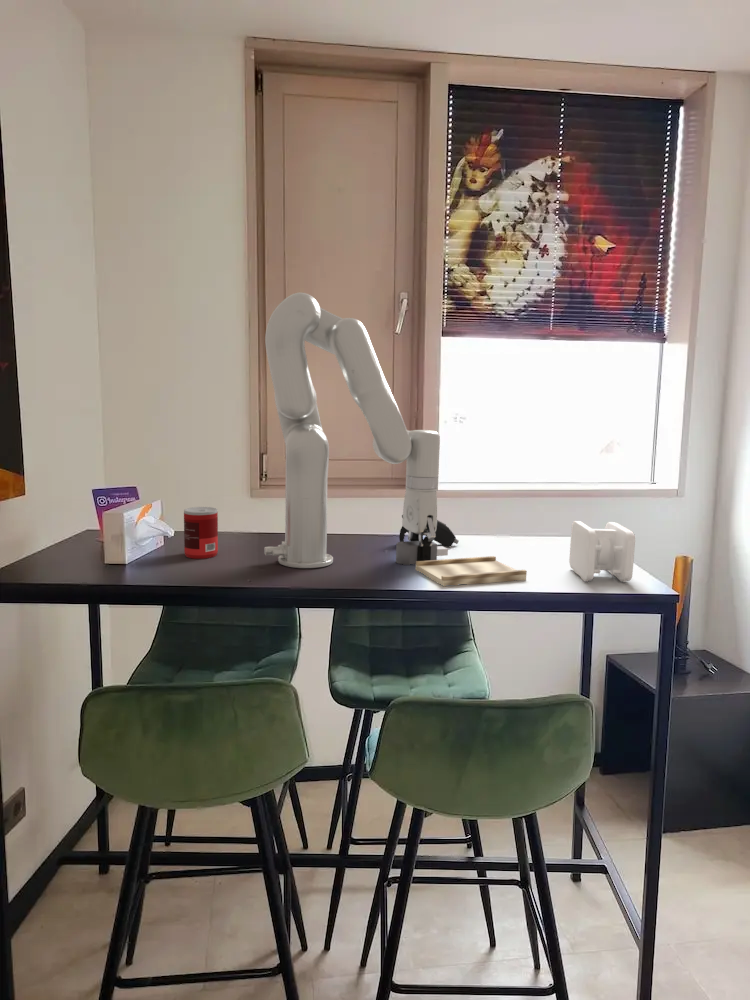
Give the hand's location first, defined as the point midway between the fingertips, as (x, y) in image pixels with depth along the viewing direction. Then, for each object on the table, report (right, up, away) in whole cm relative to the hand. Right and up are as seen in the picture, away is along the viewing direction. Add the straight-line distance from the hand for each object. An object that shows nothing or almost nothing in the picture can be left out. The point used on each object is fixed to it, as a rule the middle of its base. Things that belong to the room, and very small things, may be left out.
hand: (419, 559), depth 168 cm
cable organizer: (+40, -3, -9) cm, 41 cm away
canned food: (-52, +1, +1) cm, 52 cm away
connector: (0, -1, 0) cm, 1 cm away
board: (+11, -3, -11) cm, 15 cm away
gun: (+4, +2, +18) cm, 19 cm away
